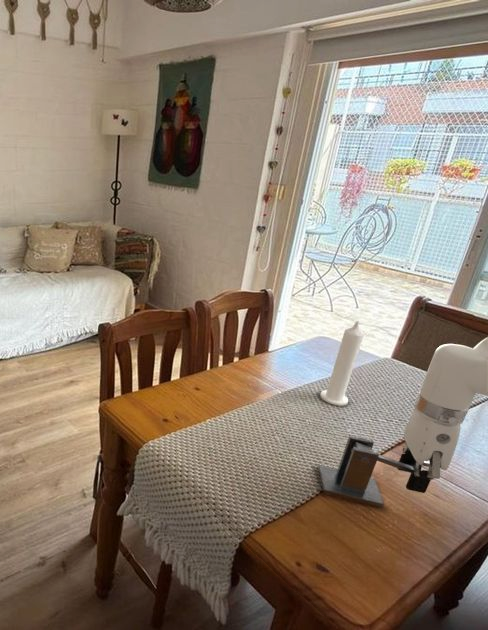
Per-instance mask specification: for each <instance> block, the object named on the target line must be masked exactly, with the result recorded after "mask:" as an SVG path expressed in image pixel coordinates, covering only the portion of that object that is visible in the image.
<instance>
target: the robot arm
mask: <svg viewBox="0 0 488 630" xmlns="http://www.w3.org/2000/svg"><path fill="white" fill-rule="evenodd" d="M476 394H479V395H482V396H485V397H488V336H487V337H485V338H484V339H482V340H481V341H480V342H478V343H477V344H476V345H475V346H474V347H469V346H467V345H462V344H457V343H456V344H454V343H446V344H442V345H440V346H439V347H437V348H436V349H435V351H434V353H433V355H432V357H431V361H430V364H429V366H428V369H427V371H426V374H425V376H424V379H423V381H422V384H421V387H420V389H419V392H418V394H417V397H416V399H415V402H414V404H413V408H414V409H413V410H412V412H411V415H410V417H409V419H408V421H407V423H406V426H405V429H404V433H403V438H404V443H405V444H404V446H403V447H402V453H401V455H400V457H399V460H398V462H401V463H404V464H407V463H406V462H407V461H408V460H411V461H413V463H414V465H415V471H414V473H413V472H411V473H410V475H409V477H408V479H407V482H406V485H405V488H406V490H408V491H413V492H417V493H421V494H425V493H426V492H427V490H428V488H429V486H430V483H431V481H433V480H434V479H435V480H436V479H437V480H438V479H440V478H441V470H443V471H447V470H448V469H449V467H450V465H451V462H452V460H453V458H454V454H455V452H456V449H457V446H458V443H459V439H460V438H459V437H460V433H461V425H462V424H463V423H464V422H465V419H466V416H467V414H468V412H469V409H470V408H471V405H472V403H473V401H474V398H475V397H476ZM423 467H428V469H427V470H425V469H422V468H423ZM396 469H397V470H398V471H401V472H406V473H408V472H407V471H404V470H401V469H398V468H396Z"/></svg>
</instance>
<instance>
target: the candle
mask: <svg viewBox="0 0 488 630" xmlns="http://www.w3.org/2000/svg"><path fill="white" fill-rule="evenodd" d="M359 323H360V322H359V320H356V321H355V323H354V325H352V326H351V327H349V328H346V329H344V332H343V335H342V338H341V342H340V345H339V349H338V352H337V355H336V358H335V362H334V365H333V368H332V371H331V376H330V379H329V381H328V384H327V389H325V390H321V391H320V394H319V396H320V398H321V399H322V400H323V401H325V402H326V403H328V404H331V405H334V406H340V407H343V406H346V405H348V403H349V399H348V397H347V396H346V393H347V389H348V386H349V383H350V380H351V376H352V373H353V369H354V368H355V364H356V360H357V357H358V355H359V351H360V348H361V345H362V343H363V339H364V335H365V334H364V332H363V331H362V330H361V328H360V324H359Z"/></svg>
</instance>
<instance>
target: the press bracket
mask: <svg viewBox="0 0 488 630" xmlns="http://www.w3.org/2000/svg"><path fill="white" fill-rule="evenodd" d="M356 442H358V443H361V444H363V445H366V446H369V447H370V448H371V451H370V450H366V449H361V448H356V447H353V446H354V444H355V443H356ZM374 444H375V442H374V440H373V439H369V438H365V437H360V436H354V435H349V436H348V439H347V441H346V444H345V448H344V451H343V453H342V455H341V459H340V462H339V465H338V467H337V468H335V467H330V466H325V465H321V464H319V465H318V467H317V471H318V476H319V480H320V484H321V489H322V493H323V495H327V496H331V497H335V498H339V499H343V500H347V501H351V502H355V503H359V504H364V505H367V506H371V507H376V508H380V509H383V508H384V506H385V503H384V500H383V497H382V495H381V493H380V490H379V487H378V484H377V481H376V480H375V477H372V476H373V472H374V470H375V467H376V464H377V462H378V461H377V459H378V457H379V455H380V454H379V452H378V451H374V450H373V446H374ZM352 447H353V450H352V452H351V449H352Z"/></svg>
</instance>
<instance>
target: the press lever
mask: <svg viewBox="0 0 488 630" xmlns="http://www.w3.org/2000/svg"><path fill="white" fill-rule="evenodd" d="M353 447H356V448H361V449H366V450H370V451H372V449H371V448H370V447H369V446H366V445H363V444H361V443H358V442H356V443H355V444H354V446H353ZM353 447H352V449H351V452H352V450H353ZM377 462H379V463H382V464H384V465H388V466H390V467H393V468H396V469H397V468H398V469H401V470H404V471H403V472H405V471H407V472H406V473H410V474H411V472H413V473H414V471H415V465H414V463H413V461H411V460H408V461H407V462H406V463H407V464H404V463H401V462H399V460H395V459H392V458H390V457H387V456H385V455H382V454H379V457H378V459H377ZM398 469H397V470H398ZM401 470H400V471H401Z"/></svg>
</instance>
